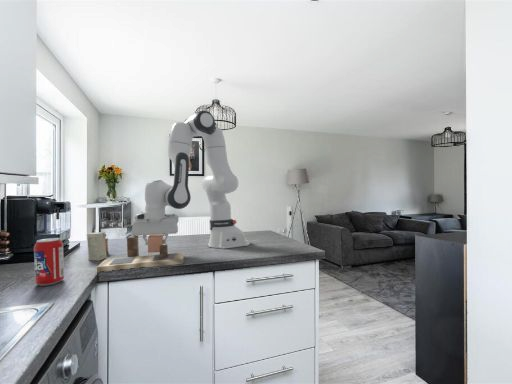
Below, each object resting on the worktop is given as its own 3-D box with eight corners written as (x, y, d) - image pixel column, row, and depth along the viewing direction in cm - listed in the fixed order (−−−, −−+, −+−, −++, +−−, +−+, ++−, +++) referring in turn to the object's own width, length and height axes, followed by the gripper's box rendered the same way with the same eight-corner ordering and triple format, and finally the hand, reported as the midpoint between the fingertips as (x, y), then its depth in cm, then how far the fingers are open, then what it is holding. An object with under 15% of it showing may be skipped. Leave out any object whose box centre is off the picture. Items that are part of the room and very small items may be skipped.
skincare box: (106, 258, 123) (106, 232, 122) (99, 261, 118) (98, 233, 118) (95, 257, 124) (94, 231, 124) (87, 260, 120) (86, 233, 120)
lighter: (90, 256, 127) (89, 236, 126) (89, 255, 129) (88, 235, 129) (109, 253, 132) (108, 233, 132) (107, 252, 134) (107, 233, 134)
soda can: (67, 282, 91) (65, 238, 91) (37, 289, 85) (36, 242, 85) (61, 277, 96) (59, 236, 96) (33, 283, 91) (31, 240, 90)
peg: (138, 257, 123) (138, 235, 123) (137, 259, 119) (136, 237, 119) (129, 258, 122) (128, 236, 122) (127, 260, 118) (126, 237, 118)
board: (183, 256, 122) (182, 241, 122) (183, 263, 110) (182, 246, 110) (105, 263, 113) (105, 247, 113) (96, 272, 102) (96, 254, 102)
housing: (163, 248, 130) (163, 234, 130) (161, 251, 122) (161, 236, 122) (150, 249, 128) (150, 234, 128) (147, 252, 120) (147, 237, 120)
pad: (135, 257, 115) (135, 256, 115) (131, 262, 106) (131, 262, 106) (115, 259, 113) (115, 258, 113) (109, 264, 104) (109, 264, 104)
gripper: (178, 213, 131) (179, 241, 131) (133, 215, 125) (133, 244, 125) (178, 214, 125) (178, 243, 125) (130, 216, 119) (131, 247, 119)
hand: (155, 244), depth 125 cm, fingers closed on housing, 6 cm apart
